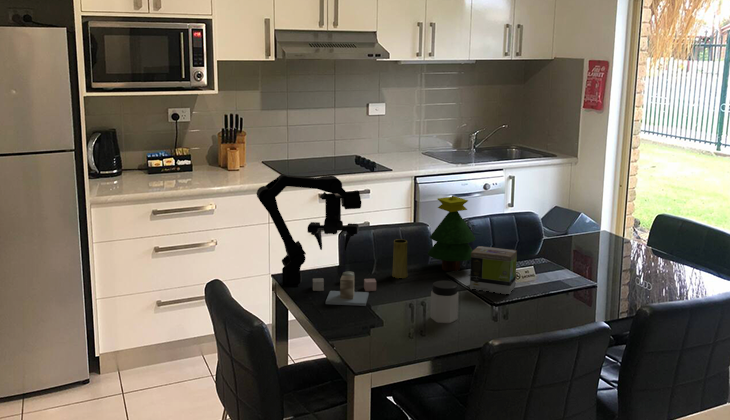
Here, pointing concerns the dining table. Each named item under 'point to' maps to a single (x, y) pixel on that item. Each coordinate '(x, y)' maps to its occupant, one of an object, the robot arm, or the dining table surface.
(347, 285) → the birch block
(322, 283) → the off-white block
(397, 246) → the vase
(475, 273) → the tea box
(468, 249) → the decorative tree
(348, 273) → the sage cylinder
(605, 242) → the dining table surface
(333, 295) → the blue board
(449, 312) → the jar
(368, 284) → the pink block
